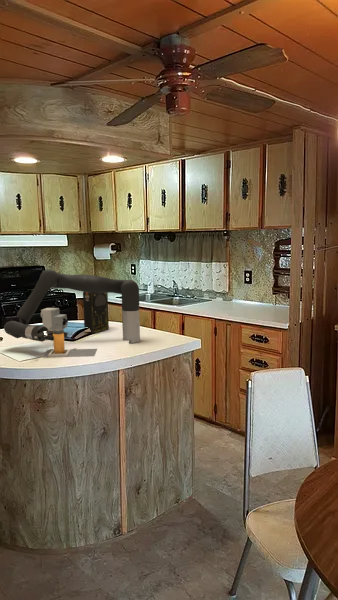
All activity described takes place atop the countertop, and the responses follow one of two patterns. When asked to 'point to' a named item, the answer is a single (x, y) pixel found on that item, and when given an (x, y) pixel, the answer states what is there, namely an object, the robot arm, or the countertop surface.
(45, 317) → the circuit breaker
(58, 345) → the post
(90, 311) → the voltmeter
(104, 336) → the countertop surface
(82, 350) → the board
